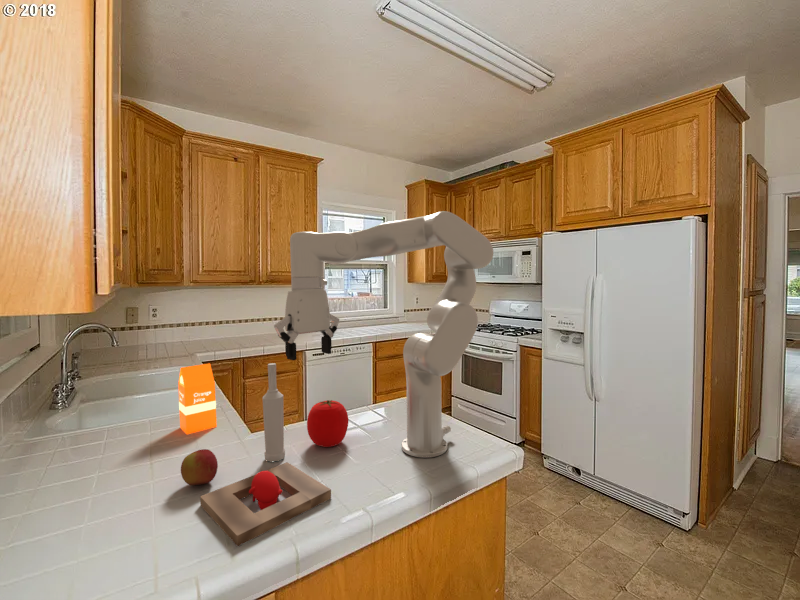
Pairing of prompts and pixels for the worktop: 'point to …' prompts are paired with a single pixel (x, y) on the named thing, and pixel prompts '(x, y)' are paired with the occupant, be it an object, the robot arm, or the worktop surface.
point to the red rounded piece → (265, 489)
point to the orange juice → (197, 398)
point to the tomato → (327, 423)
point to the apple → (199, 467)
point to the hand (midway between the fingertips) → (309, 356)
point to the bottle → (273, 419)
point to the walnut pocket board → (250, 525)
